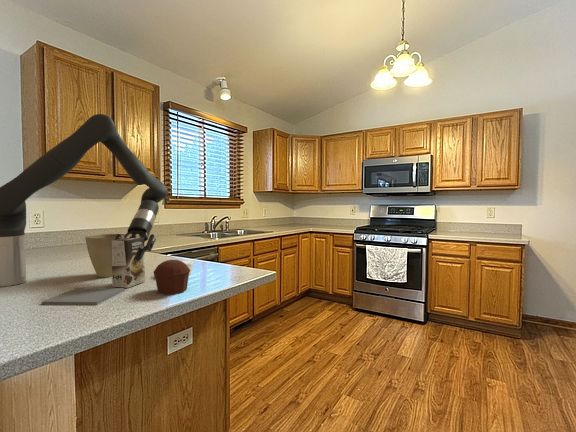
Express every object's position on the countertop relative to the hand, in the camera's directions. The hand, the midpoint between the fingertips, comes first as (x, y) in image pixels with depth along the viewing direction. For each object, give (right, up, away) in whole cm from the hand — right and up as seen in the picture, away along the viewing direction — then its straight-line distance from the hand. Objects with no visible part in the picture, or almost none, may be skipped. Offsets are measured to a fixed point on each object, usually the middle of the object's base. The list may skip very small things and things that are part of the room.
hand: (126, 259), depth 106 cm
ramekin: (+12, -9, +17) cm, 23 cm away
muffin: (+18, -10, -5) cm, 21 cm away
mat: (-6, -10, -12) cm, 17 cm away
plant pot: (-16, -9, +16) cm, 24 cm away
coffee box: (0, -9, +2) cm, 9 cm away
